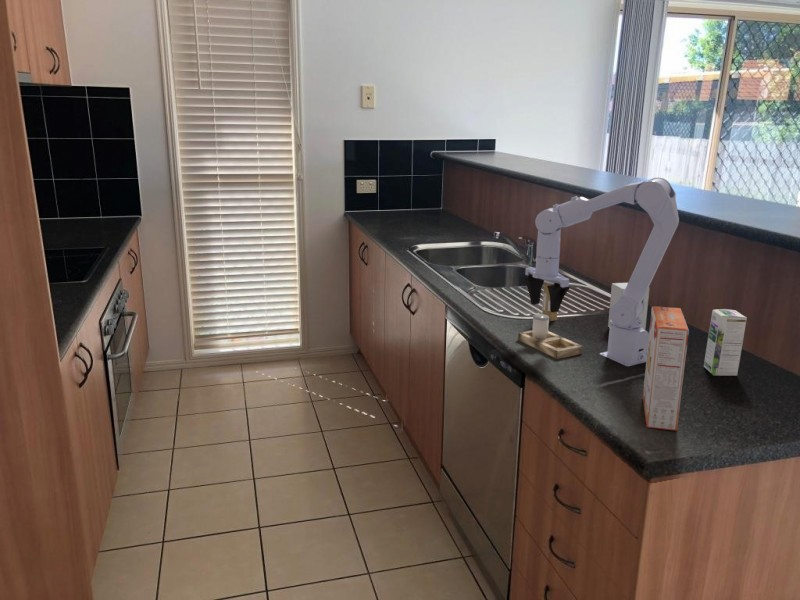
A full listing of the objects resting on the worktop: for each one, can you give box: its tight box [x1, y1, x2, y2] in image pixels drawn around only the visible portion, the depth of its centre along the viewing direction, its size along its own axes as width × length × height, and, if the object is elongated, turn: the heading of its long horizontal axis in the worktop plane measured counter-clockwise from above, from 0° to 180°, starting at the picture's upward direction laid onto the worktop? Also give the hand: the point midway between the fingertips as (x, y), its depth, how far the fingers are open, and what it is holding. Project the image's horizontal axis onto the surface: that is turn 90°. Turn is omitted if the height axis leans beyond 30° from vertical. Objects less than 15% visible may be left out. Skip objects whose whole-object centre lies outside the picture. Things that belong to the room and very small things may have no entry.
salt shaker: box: [532, 313, 550, 340], centre depth 171 cm, size 4×4×7 cm
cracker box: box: [642, 305, 690, 432], centre depth 130 cm, size 14×6×21 cm, turn 163°
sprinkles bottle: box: [541, 280, 558, 322], centre depth 189 cm, size 5×5×14 cm
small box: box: [607, 282, 650, 331], centre depth 181 cm, size 8×6×13 cm
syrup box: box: [703, 308, 748, 377], centre depth 152 cm, size 6×6×14 cm
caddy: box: [517, 330, 584, 360], centre depth 168 cm, size 16×8×2 cm, turn 28°
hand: (544, 307), depth 169 cm, fingers open, 7 cm apart
